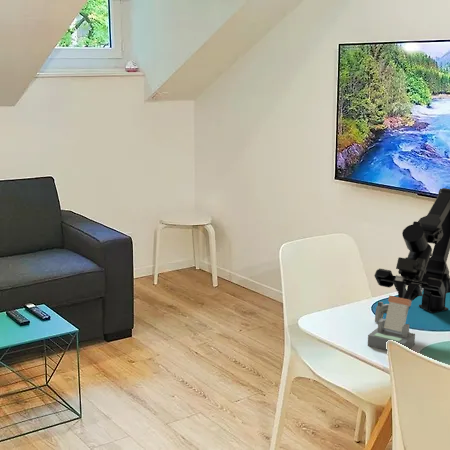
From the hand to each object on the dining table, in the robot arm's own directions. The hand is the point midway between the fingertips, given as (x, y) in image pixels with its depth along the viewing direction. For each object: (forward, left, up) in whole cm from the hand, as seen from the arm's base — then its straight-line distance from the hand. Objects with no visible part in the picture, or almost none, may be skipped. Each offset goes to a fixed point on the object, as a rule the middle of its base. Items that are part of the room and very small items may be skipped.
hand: (400, 309), depth 195 cm
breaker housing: (+4, +2, -8) cm, 10 cm away
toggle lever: (+4, +2, -5) cm, 7 cm away
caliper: (-11, -16, -9) cm, 22 cm away
